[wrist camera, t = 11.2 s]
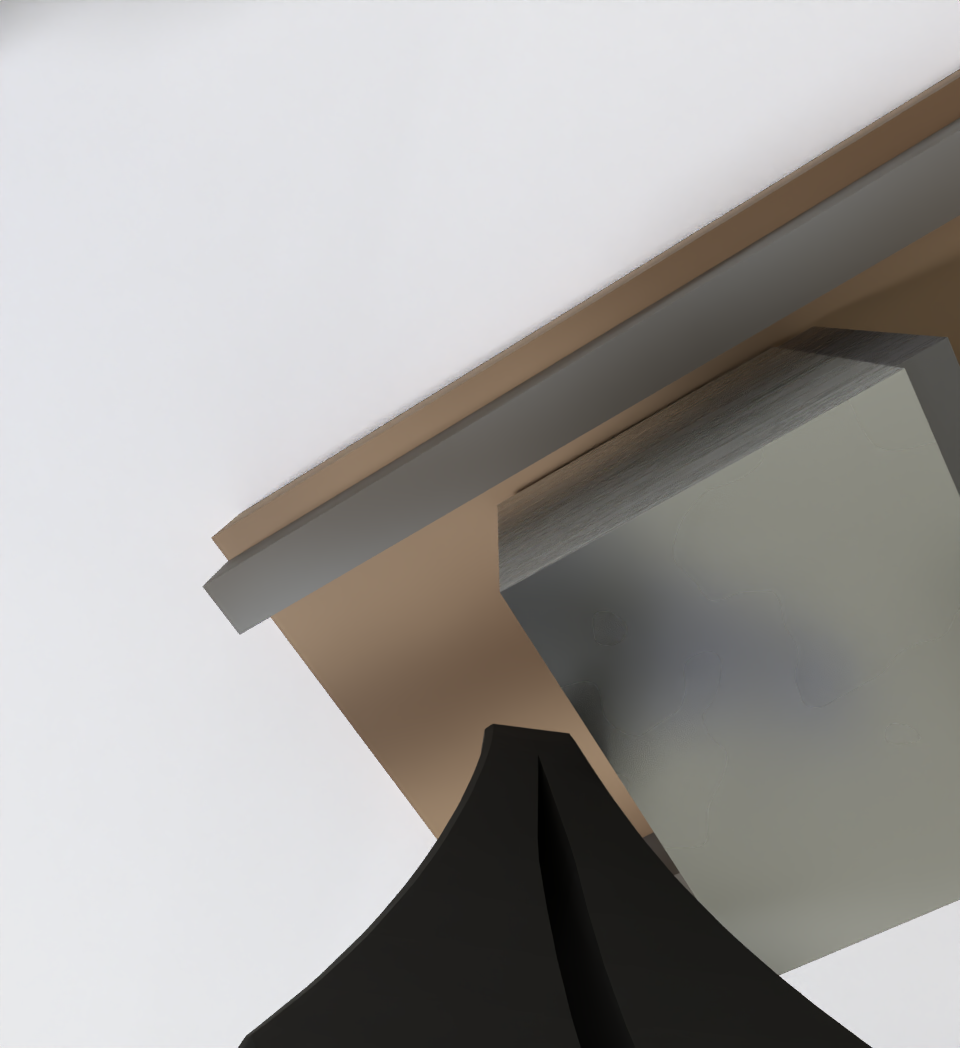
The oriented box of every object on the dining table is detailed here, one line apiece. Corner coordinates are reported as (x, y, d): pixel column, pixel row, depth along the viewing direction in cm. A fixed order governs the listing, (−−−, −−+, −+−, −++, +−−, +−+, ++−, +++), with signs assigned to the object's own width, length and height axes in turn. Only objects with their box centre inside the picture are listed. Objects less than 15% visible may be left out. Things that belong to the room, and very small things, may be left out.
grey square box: (497, 504, 12) (499, 592, 8) (807, 325, 11) (959, 337, 8) (684, 805, 14) (753, 985, 10) (966, 672, 13) (1153, 817, 9)
